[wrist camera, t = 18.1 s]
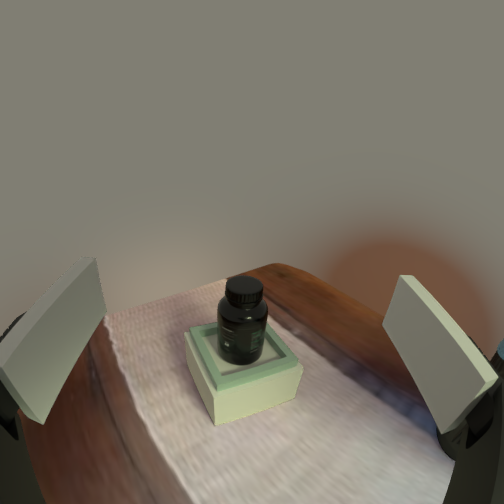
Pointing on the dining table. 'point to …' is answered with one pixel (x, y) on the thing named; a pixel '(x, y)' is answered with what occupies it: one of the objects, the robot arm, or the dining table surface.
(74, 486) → the dining table surface
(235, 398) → the riser
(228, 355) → the supplement bottle
